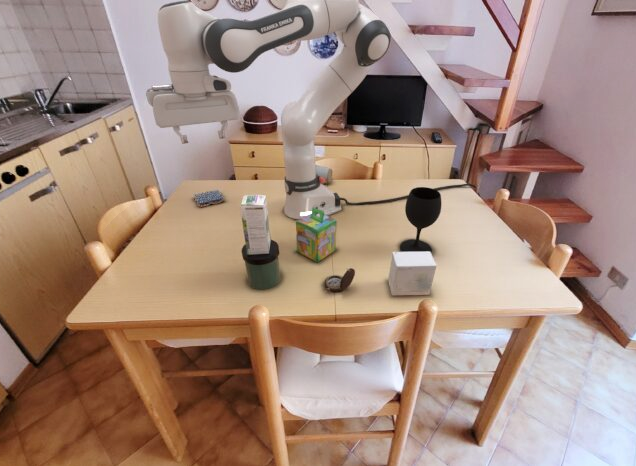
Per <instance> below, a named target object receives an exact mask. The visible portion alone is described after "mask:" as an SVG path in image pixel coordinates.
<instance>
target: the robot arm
mask: <svg viewBox="0 0 636 466" xmlns="http://www.w3.org/2000/svg"><path fill="white" fill-rule="evenodd" d="M284 5H285V6H284V7H283V8H282V9H280V10H278V11H276V12H273V13H270V14H268V15H264V16H262V17H259V18H256V19H253V20H245V21H244V20H241V19H240V20H239V19H235V18H219V17H216V16H214V15H212V14H210V13H209V12H206V11H204V10H203V9H201V8H200V7H198V6H197V5H195V4H194V3H193V2H192V1H190V0H179V1H174V2H169V3H165V4H164V5H162V6H161V7H160V8H159V10H158V11H157V24H158V30H159V36H160V40H161V45H162V48H163V51H164V53H165V55H166V58H167V63H168V64H167V65H168V66H167V67H168V74H169V77H170V82H171V84H163V85H151V87H149V88H148V89H147V90H146V91H145V92H146V93H145V95H146V99H147V102H148V104H149V105H150V106H151V107H152V113H153V117H154V121H155V125H156V126H157V127H159V128H161V129H165V128H166V129H167V128H172V129H173V131H174V132H175V133H176V135H177V136H178V137H179V139H180V141H181V144H182V145H184V144H185V145H186V144H188V143H189V140H188V136H187V135H186V134H182V133H181V132H180V131H181V127H182V126H183V127H184V126H192V125H200V124H209V123H210V124H211V123H218V122H219V123H220V125H221V128H220V130H217V134H218V135H217V136H218V138H219V139H220V140H221V139H226V131H227V129H228V127H229V125H228V122H229V121H237V120H239V119H240V117H241V111H240V106H239V102H238V100H237V97H236V95H235V94H234V92H233V91H231V90H232V83H231V82H230V80H228V79H226V78H223V77H219V76H217V75H212V74H210V70H209V65H212V64H213V65H214V66H215V65H216V66H217V68H219V69H220V70H222V71H224V72H227V73H232V74H233V73H234V74H235V73H240V72H243V71H245V70H247V69H248V68H249V67H250V66H252V64H253V63H254V62H255V61H256V59H258V58H259V57H260V56H261V55H262V54H264V53H266V52H268V51H271V50H274V49H276V48H279V47H281V46H284V45H287V44H289V43H292V42H303V41H311V40H316V39H320V38H323V37H326V36H328V35H331V34H333V35H334V36H335V37H336V38H338V40H339V41H340V42H341V43H342V44H343V46H342V49H341V52H340V53H339V54H338V55H337V56H336V57H335V58H333V60H331V61H330V63H328V65H327V66H325V67H324V68H323V69H322V71H321V72H320V73H319V74H318V75H317V76H316V77H315V79H314V80H313V81H311V82H310V84H309V85H308V87H307V89H306V90H305V91H304V93H302V95H301V97H300V98H299V99H298V100H297V101H290V102H288V103H287V104H286V105H285V106H284V107H283V109H282V110H281V112H280V123H281V136H282V146H283V147H282V150H283V162H284V174H285V175H284V190H285V203H284V209H283V213H284V215H285V216H286V217H289V218H290V219H294V220H299V219H301V218H303V217H305V216H307V215H309V214H311V212H312V208H313V207H314V208H316V209H319V210H322V211H324V214H325V215H327V216H330V215H332V214H335V213H338V212H340V211H342V205H341V201H344V203H345V204H346V205H348V206H362V205H371V204H380V203H389V202H395V201H398V200H403V199H404V200H405V199H407V198H408V195H409V194H407V195H403V196H399V197H394V198H388V199H380V200H370V201H361V202H349V201H348V199H347V198H344V197H340V195H339V193H338V192H333V191H332V190H331V189H330V188H329V187H327V185H324V184H326V183H325V181H326V180H325V179H324V178H323V177H320V176H319V175H317V174H316V165H317V164H316V148H315V137H316V136H317V134H318V133H319V132H320V130H321V129H322V128H323V126H324V125H325V124H326V122H327V121H328V119H329V118H330V117H331V115H332V114H333V113H334V112H335V111H336V110H337V109H338V107H340V105H341V104H342V103H344V101H345V100H347V98H348V97H349V96H350V95H351V94H352V93H353V92H354V91H355V90H356V89H357V88H358V86H359V85H360V84H361V83H362V82H363V81H364V79H365V78H366V76H368V74H369V72H370V70H371V68H372V65H374V64H375V63H377V62H378V61H380V60H381V59H382V58H384V56H385V55H386V54H387V52H388V50H389V48H390V45H391V41H392V34H391V32H390V30H389V27H388V26H387V24H386V23H385V22H384V21H383V20H381V19H380V18H379V17H378V15H376V14H375V12H373V11H372V10H371V9H370V8H367V7H366V6H365V5H363V4H362V3H360V0H286V2H285V4H284ZM320 182H321V183H320ZM462 187H472V188H473V189H476V188H477V186H476V185H475V184H473V183H462V184H452V185H446V186H440V187H439V186H438V187H435V188H433V189H435V190H437V191H438V190H445V189H450V188H462Z"/></svg>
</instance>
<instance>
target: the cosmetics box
mask: <svg viewBox="0 0 636 466" xmlns="http://www.w3.org/2000/svg"><path fill="white" fill-rule="evenodd" d="M436 269H437V263H436V261H435V258H434V256H433V254H432V253H431V252H430V251H426V252H402V251H392V252H391V260H390V266H389V273H388V280H387V282H388V286H389V289H390V294H391V296H429V295H431V292H432V291H431V290H432V286H433V283H434V278H435V274H436Z"/></svg>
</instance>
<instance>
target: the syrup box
mask: <svg viewBox="0 0 636 466" xmlns="http://www.w3.org/2000/svg"><path fill="white" fill-rule="evenodd" d="M239 209H240V216H241V222H242V223H241V224H242V228H243V235H244V244H246V250H247V254H248V255H252V254H269V250H270V242H271V240H272V239H271V232H270V231H271V230H270V222H269V221H270V220H269V211H268V202H267V195H263V194H246V195H243V198H242V200H241V204H240V206H239ZM270 239H271V240H270Z"/></svg>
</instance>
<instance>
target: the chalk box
mask: <svg viewBox="0 0 636 466" xmlns="http://www.w3.org/2000/svg"><path fill="white" fill-rule="evenodd" d="M337 223H338V221H337V219H335V218H334V217H331V216H330V215H325V214H324V211H322V210H319V209H316V208H314V207H313V208H312V212H311V214H309V215H307V216H305V217H303V218H301V219H296V220H295V230H296V233H295V235H296V252H297V253H299V254H300V255H303V256H305V257H307V258H308V259H310V260H312V261H314V262H316V263H319V262H321V261H322V260H324V259H325V258H326V257H328V256H329V255H331V254H333V253H334V252H335V251H336V250H337V249H336V248H337V225H338V224H337Z"/></svg>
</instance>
